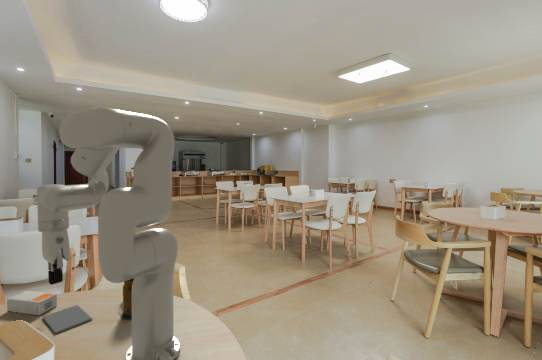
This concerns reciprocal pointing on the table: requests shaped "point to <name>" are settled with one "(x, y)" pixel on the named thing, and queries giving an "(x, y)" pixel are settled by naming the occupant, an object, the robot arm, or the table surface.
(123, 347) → the table surface
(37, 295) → the skincare box
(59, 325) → the mat
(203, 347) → the table surface
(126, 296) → the condiment
